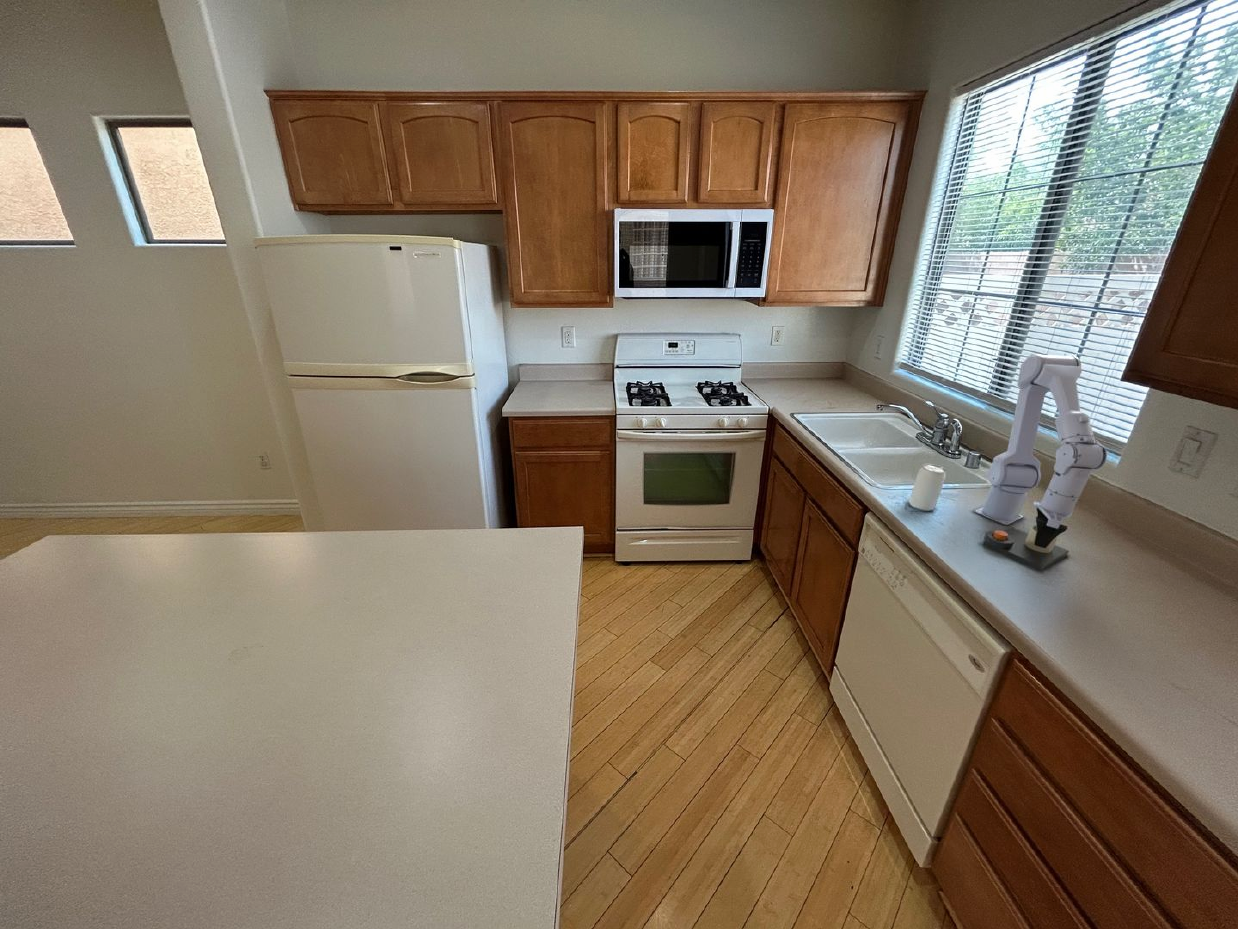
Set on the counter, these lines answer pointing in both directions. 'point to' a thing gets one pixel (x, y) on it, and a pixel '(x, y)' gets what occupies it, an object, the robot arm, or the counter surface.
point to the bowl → (1031, 539)
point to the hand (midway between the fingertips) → (1039, 541)
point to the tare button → (1000, 535)
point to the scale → (1023, 549)
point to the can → (927, 487)
